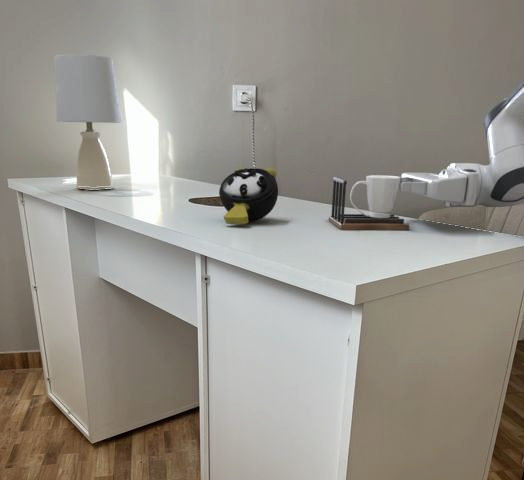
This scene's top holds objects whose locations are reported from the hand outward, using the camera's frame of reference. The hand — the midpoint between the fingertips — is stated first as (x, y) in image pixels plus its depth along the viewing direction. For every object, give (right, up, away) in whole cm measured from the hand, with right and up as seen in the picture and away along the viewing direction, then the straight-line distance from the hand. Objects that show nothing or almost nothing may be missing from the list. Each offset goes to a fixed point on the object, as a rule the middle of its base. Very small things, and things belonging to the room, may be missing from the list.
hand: (393, 184), depth 115 cm
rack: (-5, -8, +3) cm, 10 cm away
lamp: (-80, +17, +61) cm, 102 cm away
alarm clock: (-30, -7, +4) cm, 31 cm away
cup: (-4, -6, +2) cm, 8 cm away
